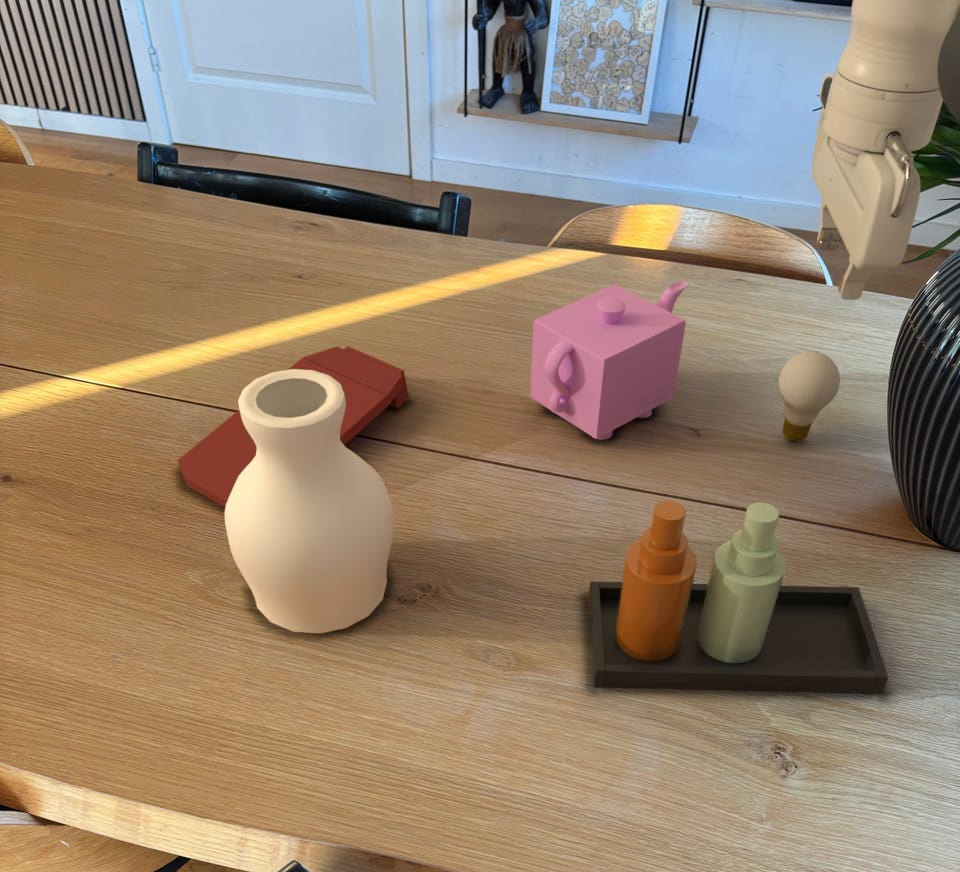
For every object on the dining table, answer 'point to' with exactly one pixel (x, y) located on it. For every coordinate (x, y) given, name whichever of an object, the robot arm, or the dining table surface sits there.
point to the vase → (307, 508)
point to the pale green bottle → (743, 589)
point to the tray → (778, 667)
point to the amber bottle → (656, 587)
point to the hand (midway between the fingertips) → (837, 270)
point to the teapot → (607, 358)
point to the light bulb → (806, 391)
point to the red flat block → (366, 397)
